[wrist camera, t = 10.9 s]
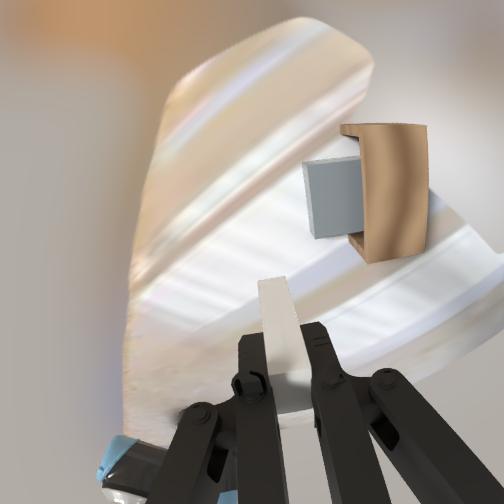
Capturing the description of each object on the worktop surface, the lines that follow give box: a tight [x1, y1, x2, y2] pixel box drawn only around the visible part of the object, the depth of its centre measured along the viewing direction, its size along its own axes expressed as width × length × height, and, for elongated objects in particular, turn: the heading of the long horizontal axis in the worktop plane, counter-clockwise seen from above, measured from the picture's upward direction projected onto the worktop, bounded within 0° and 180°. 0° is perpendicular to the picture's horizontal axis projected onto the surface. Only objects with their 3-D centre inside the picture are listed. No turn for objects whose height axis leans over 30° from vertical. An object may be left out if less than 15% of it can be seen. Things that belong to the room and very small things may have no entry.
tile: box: [302, 156, 364, 239], centre depth 33 cm, size 12×9×3 cm
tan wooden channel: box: [340, 123, 429, 264], centre depth 30 cm, size 8×15×7 cm, turn 9°
